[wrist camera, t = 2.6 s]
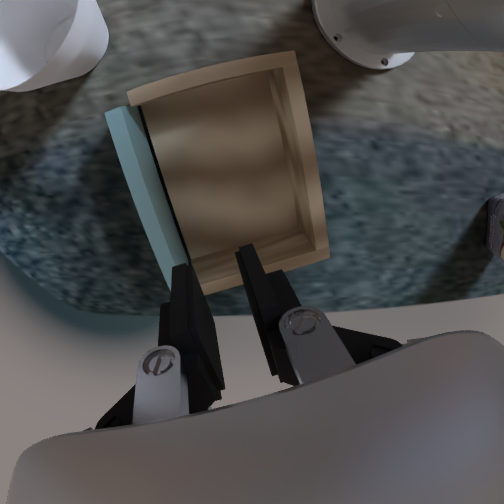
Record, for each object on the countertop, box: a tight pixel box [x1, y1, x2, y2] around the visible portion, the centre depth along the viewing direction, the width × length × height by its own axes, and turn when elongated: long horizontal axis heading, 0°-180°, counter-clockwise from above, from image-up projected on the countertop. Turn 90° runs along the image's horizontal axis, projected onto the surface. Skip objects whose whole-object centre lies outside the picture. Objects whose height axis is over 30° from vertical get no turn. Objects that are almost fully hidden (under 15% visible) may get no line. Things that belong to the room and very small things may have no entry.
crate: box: [127, 50, 330, 296], centre depth 26 cm, size 18×12×6 cm
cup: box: [0, 0, 109, 92], centre depth 15 cm, size 9×9×12 cm
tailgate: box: [105, 105, 188, 292], centre depth 25 cm, size 16×1×7 cm, turn 13°
